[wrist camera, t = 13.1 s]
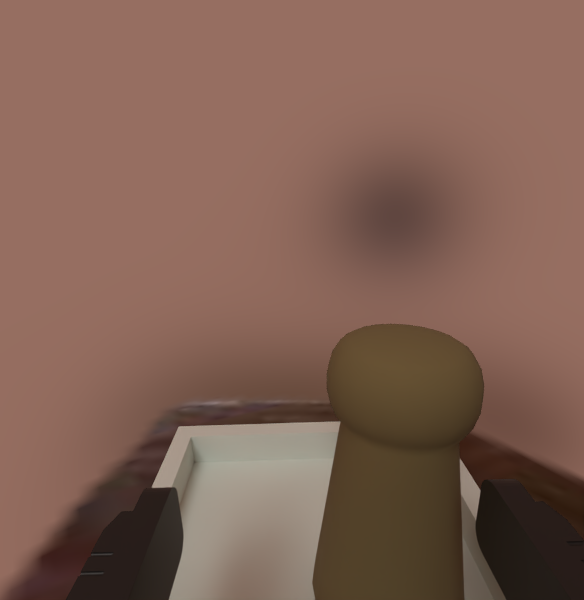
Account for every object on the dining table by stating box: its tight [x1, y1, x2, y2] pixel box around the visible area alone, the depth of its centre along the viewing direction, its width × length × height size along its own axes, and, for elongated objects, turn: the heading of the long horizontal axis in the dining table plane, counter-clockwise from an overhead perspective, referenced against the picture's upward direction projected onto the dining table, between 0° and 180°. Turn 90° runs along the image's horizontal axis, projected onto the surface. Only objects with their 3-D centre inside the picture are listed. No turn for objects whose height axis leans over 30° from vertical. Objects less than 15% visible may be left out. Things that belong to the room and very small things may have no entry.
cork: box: [312, 324, 484, 600], centre depth 14 cm, size 6×6×11 cm
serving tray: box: [152, 422, 506, 600], centre depth 16 cm, size 16×16×2 cm
